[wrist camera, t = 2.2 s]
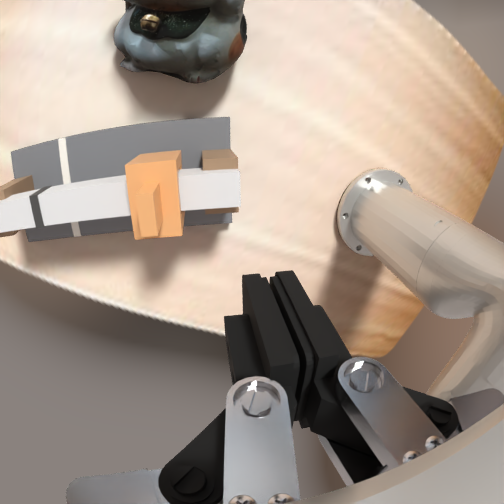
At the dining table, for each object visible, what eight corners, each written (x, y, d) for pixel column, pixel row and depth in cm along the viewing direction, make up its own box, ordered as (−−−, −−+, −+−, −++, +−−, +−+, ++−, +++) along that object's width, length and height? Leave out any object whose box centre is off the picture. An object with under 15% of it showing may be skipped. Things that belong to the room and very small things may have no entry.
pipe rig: (228, 117, 30) (239, 118, 22) (230, 218, 35) (241, 254, 27) (17, 149, 26) (-29, 166, 18) (33, 237, 31) (-2, 273, 23)
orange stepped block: (181, 150, 26) (171, 167, 18) (185, 211, 29) (180, 254, 21) (140, 154, 26) (112, 174, 17) (146, 214, 28) (126, 259, 20)
